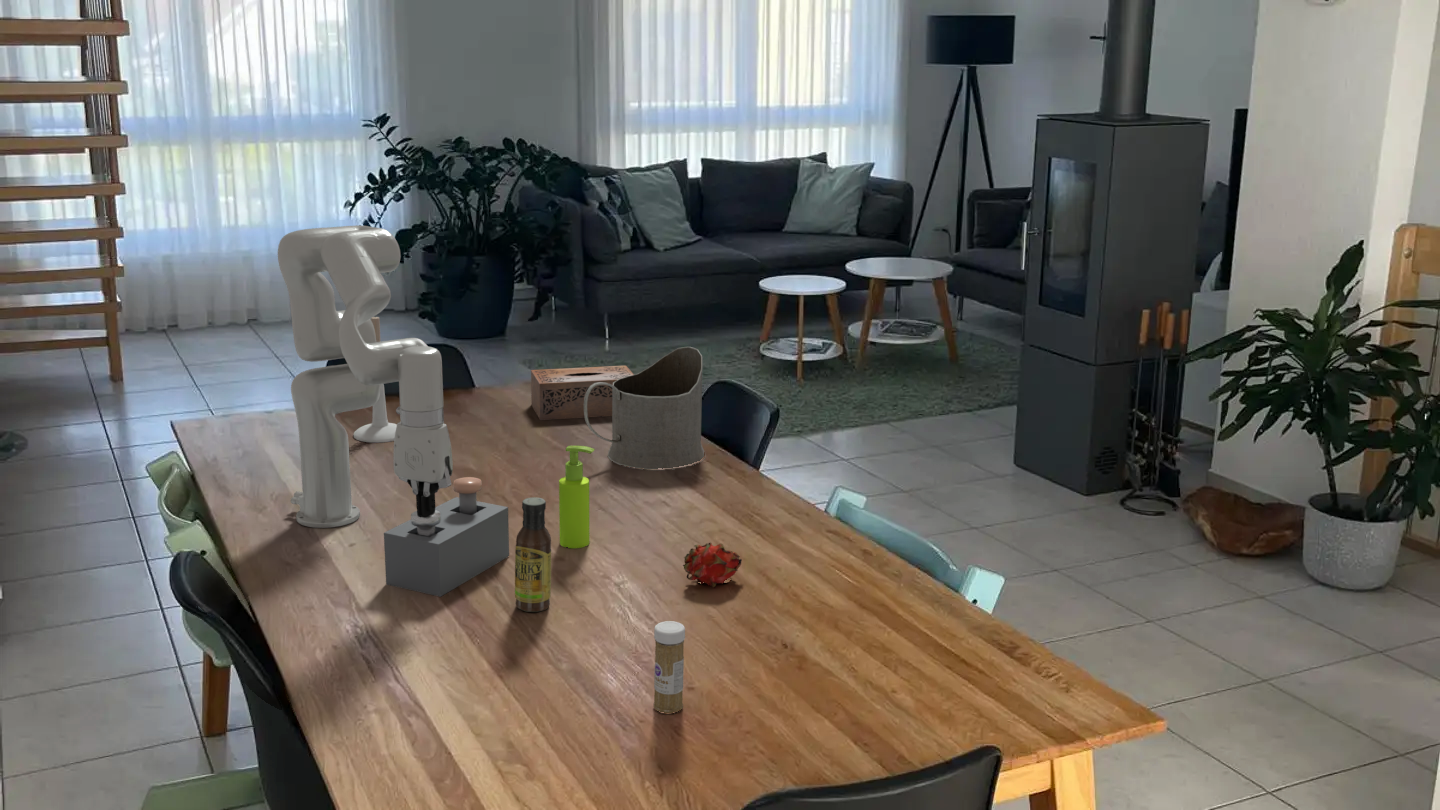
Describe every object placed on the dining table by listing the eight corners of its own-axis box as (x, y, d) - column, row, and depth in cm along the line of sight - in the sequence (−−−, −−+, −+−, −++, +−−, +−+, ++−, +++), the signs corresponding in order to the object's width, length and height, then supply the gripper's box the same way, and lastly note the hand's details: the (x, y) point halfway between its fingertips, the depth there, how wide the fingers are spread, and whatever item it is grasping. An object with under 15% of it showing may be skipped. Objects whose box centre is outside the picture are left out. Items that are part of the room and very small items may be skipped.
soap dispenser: (589, 550, 269) (589, 452, 263) (555, 546, 270) (554, 449, 265) (598, 539, 274) (597, 443, 269) (564, 536, 276) (564, 441, 270)
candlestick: (400, 443, 333) (395, 321, 325) (347, 441, 333) (341, 320, 325) (412, 428, 346) (407, 311, 338) (361, 427, 346) (355, 309, 338)
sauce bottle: (508, 610, 241) (506, 503, 235) (526, 597, 246) (524, 492, 241) (541, 616, 238) (539, 508, 233) (558, 603, 244) (557, 497, 239)
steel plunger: (406, 555, 249) (405, 516, 247) (424, 545, 254) (422, 507, 252) (430, 560, 247) (428, 521, 245) (447, 550, 252) (446, 512, 250)
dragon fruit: (676, 593, 253) (735, 593, 258) (694, 582, 246) (754, 582, 251) (671, 549, 256) (730, 549, 261) (690, 536, 249) (749, 537, 254)
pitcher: (724, 459, 327) (727, 356, 320) (612, 483, 308) (612, 375, 302) (668, 435, 345) (669, 338, 338) (558, 456, 326) (557, 354, 319)
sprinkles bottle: (647, 708, 207) (647, 626, 204) (667, 698, 211) (668, 617, 207) (669, 718, 205) (670, 635, 201) (689, 707, 208) (691, 625, 204)
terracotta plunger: (449, 520, 260) (447, 483, 258) (465, 512, 265) (464, 475, 263) (471, 525, 258) (470, 487, 256) (487, 517, 262) (486, 479, 260)
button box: (386, 584, 250) (383, 532, 248) (457, 545, 270) (456, 497, 267) (440, 596, 246) (438, 544, 243) (509, 556, 265) (508, 507, 262)
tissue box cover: (540, 421, 355) (539, 383, 353) (531, 406, 369) (530, 370, 366) (637, 415, 362) (637, 378, 360) (625, 401, 376) (625, 365, 373)
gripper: (374, 416, 243) (379, 514, 248) (444, 427, 237) (448, 527, 242) (401, 406, 250) (405, 502, 255) (469, 417, 244) (472, 514, 249)
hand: (426, 514), depth 248 cm, fingers closed
